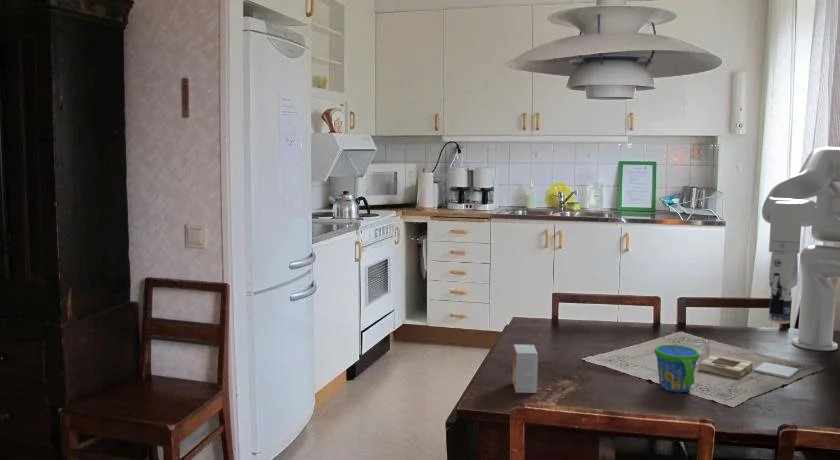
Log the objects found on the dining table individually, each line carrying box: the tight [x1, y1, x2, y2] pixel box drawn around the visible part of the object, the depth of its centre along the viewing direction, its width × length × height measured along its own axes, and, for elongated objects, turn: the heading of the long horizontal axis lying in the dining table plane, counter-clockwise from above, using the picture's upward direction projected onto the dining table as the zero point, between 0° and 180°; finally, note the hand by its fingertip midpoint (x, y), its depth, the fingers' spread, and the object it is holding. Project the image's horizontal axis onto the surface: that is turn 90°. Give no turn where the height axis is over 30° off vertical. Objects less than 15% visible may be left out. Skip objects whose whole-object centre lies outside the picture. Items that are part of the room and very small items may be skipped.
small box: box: [511, 343, 539, 394], centre depth 189 cm, size 8×6×10 cm
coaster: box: [753, 361, 800, 379], centre depth 204 cm, size 9×9×1 cm
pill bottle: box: [768, 286, 793, 325], centre depth 202 cm, size 5×5×10 cm
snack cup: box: [654, 344, 700, 393], centre depth 189 cm, size 16×10×10 cm
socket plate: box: [698, 354, 754, 379], centre depth 205 cm, size 11×11×2 cm
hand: (780, 310), depth 202 cm, fingers closed on pill bottle, 5 cm apart
